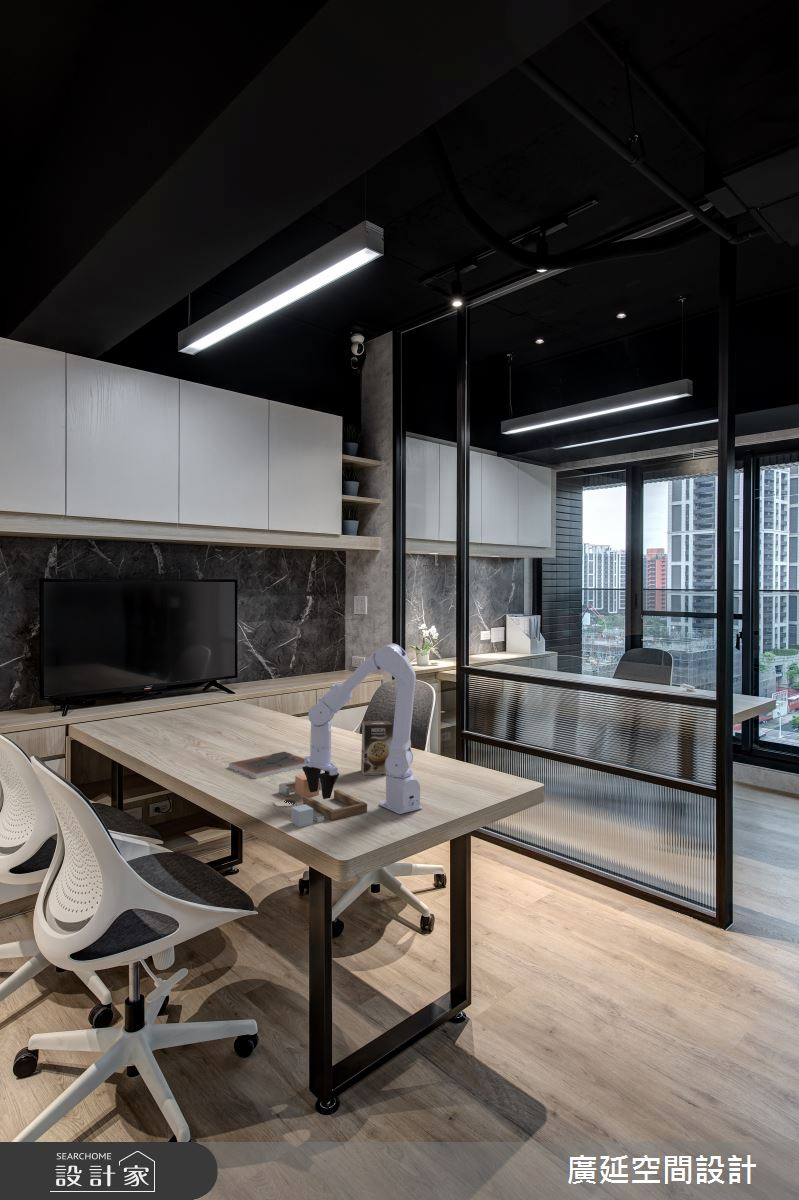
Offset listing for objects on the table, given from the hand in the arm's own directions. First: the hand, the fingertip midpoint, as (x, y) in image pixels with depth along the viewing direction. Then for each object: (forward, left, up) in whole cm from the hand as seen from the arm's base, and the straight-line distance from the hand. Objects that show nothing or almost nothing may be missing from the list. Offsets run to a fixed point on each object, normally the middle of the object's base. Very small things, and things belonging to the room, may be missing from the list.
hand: (320, 794), depth 181 cm
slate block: (-12, +12, -2) cm, 18 cm away
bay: (-7, 0, -2) cm, 7 cm away
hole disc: (+4, +9, -2) cm, 10 cm away
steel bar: (-8, +8, -2) cm, 12 cm away
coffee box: (+14, -29, -2) cm, 32 cm away
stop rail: (+11, 0, -2) cm, 11 cm away
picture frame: (+38, -4, -3) cm, 39 cm away
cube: (+7, 0, -2) cm, 7 cm away
